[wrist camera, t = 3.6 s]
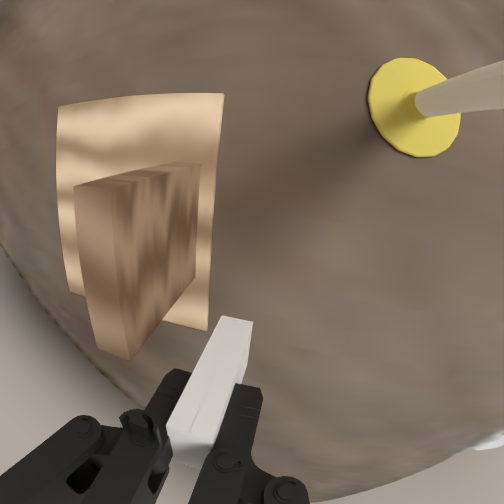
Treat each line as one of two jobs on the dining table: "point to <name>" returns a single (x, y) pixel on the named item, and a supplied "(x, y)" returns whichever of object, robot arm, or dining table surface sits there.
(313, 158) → the dining table surface
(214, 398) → the robot arm
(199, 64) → the dining table surface
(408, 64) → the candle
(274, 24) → the dining table surface
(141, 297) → the panel
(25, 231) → the dining table surface
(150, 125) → the light wooden board
